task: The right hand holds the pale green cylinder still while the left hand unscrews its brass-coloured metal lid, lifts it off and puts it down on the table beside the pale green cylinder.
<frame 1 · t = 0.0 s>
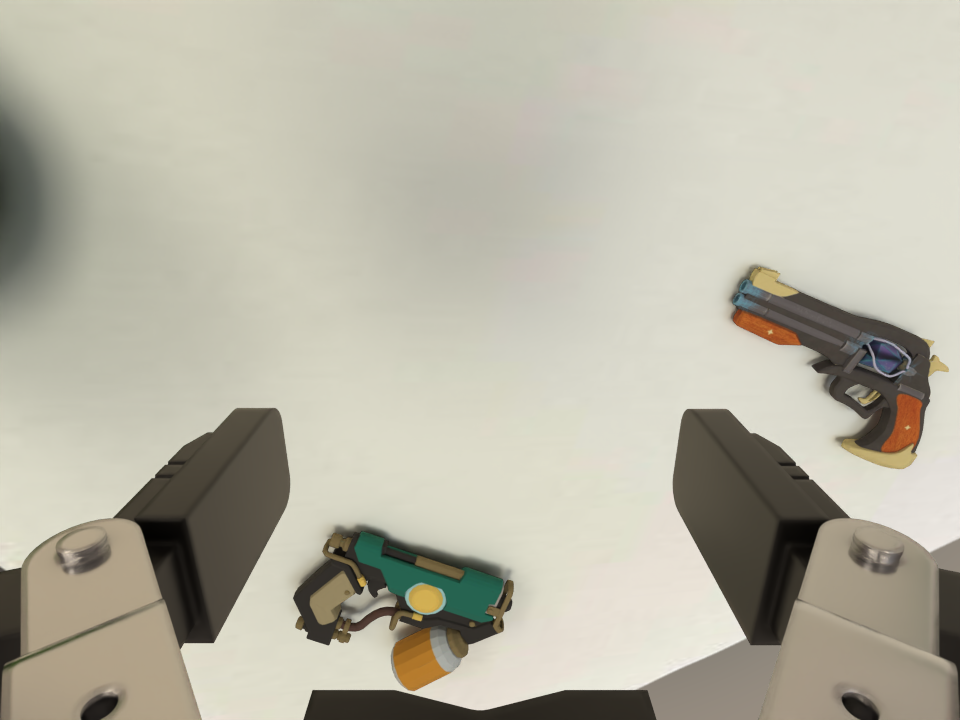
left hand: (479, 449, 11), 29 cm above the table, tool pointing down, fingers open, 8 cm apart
spray gun: (403, 588, 50), on the table
toy gun: (823, 368, 42), on the table
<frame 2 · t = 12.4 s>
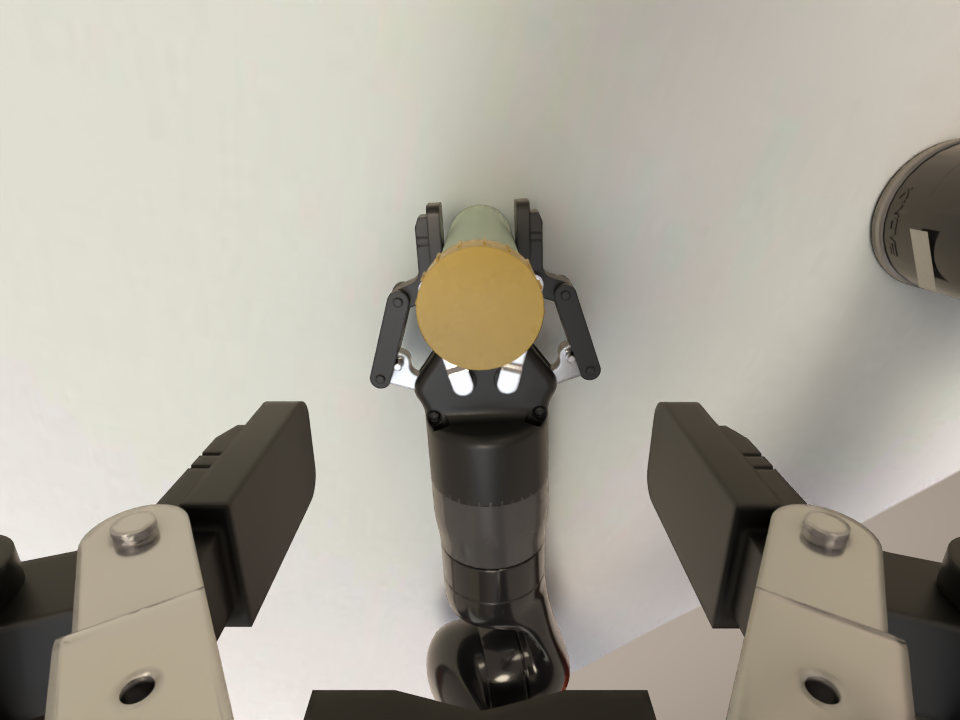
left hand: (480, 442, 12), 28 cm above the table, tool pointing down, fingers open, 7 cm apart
right hand: (477, 203, 30), fingers closed on pale green cylinder, 4 cm apart
lid: (480, 308, 21), point 18 cm above the table, screwed on, not yet turned
pale green cylinder: (480, 236, 37), on the table, touching right hand
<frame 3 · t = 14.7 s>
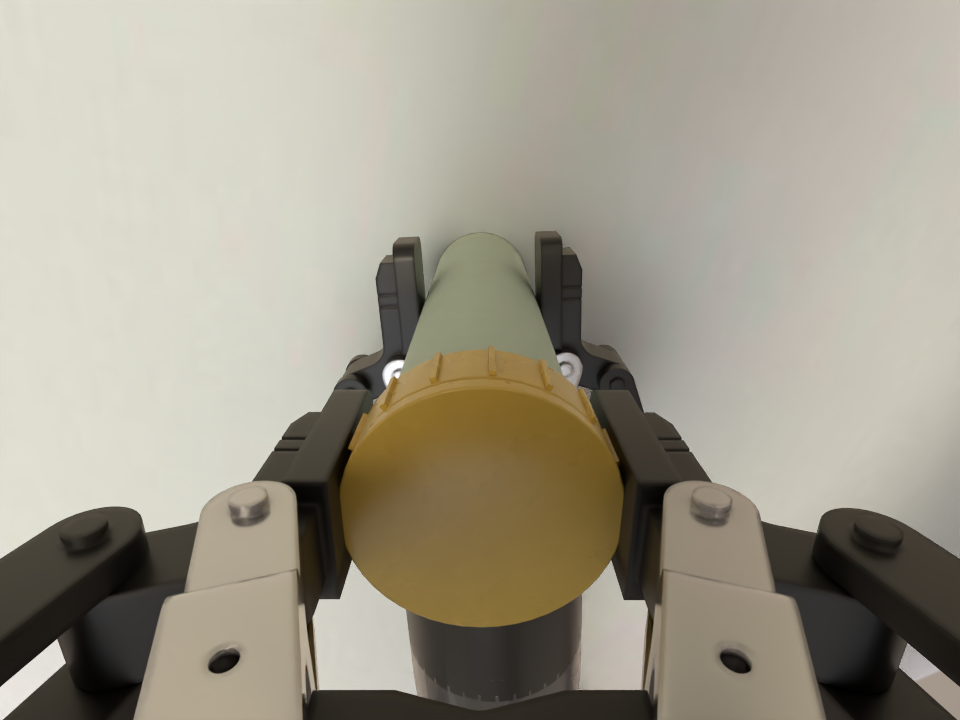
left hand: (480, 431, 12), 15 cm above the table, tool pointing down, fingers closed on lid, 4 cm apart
lid: (481, 505, 10), point 18 cm above the table, screwed on, not yet turned, touching left hand
pale green cylinder: (480, 276, 26), on the table, touching right hand
when the left hand's fingers open (15 cm above the table, at t = 16.1 s): lid stays where it is, point 18 cm above the table.
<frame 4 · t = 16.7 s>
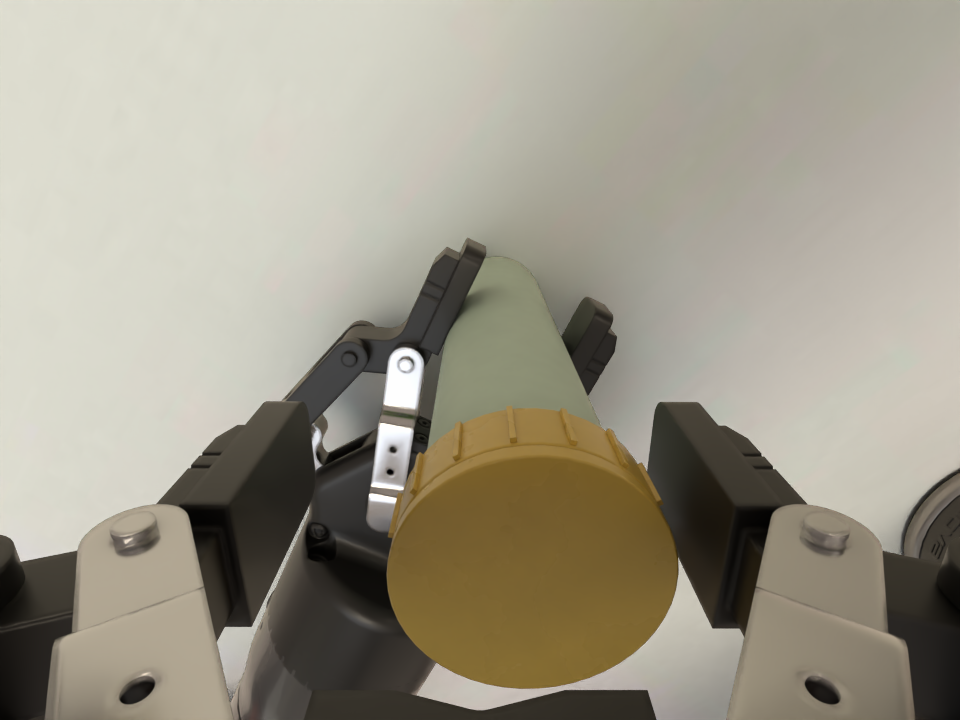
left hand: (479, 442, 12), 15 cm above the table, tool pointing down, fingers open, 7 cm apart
lid: (530, 568, 9), point 18 cm above the table, turned 63° so far, risen 0.2 cm, still on its thread
pale green cylinder: (495, 300, 26), on the table, touching right hand
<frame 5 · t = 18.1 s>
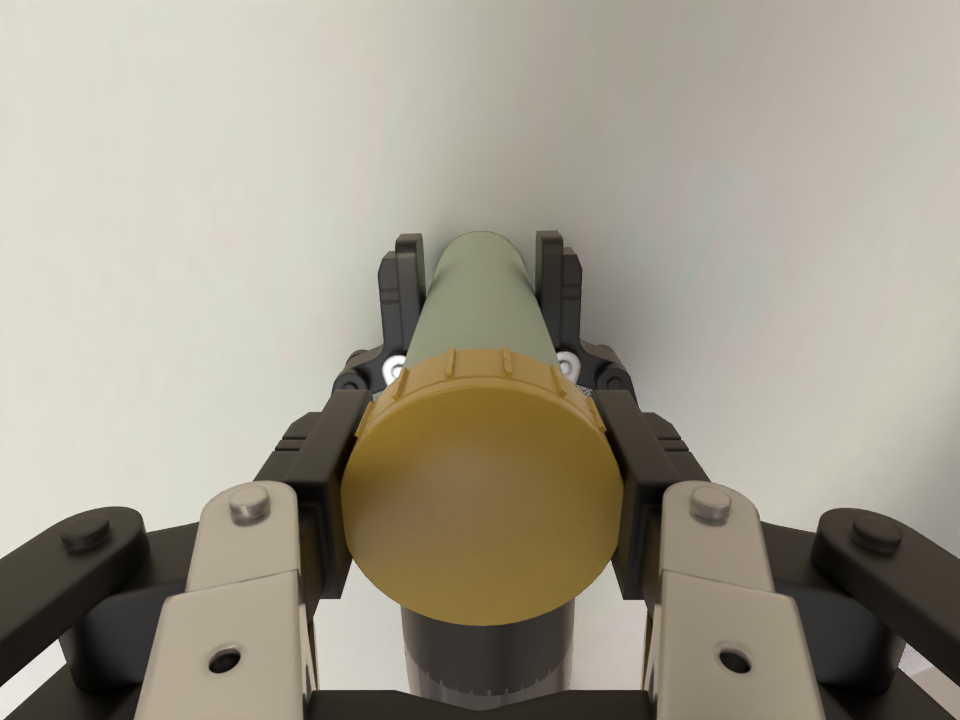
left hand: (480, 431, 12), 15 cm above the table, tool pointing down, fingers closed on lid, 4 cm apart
lid: (482, 504, 10), point 18 cm above the table, turned 63° so far, risen 0.2 cm, still on its thread, touching left hand
pale green cylinder: (480, 275, 26), on the table, touching right hand
when the left hand's fingers open (0 cm above the table, at t = 25.0 s): lid drops 2 cm, point 1 cm above the table.
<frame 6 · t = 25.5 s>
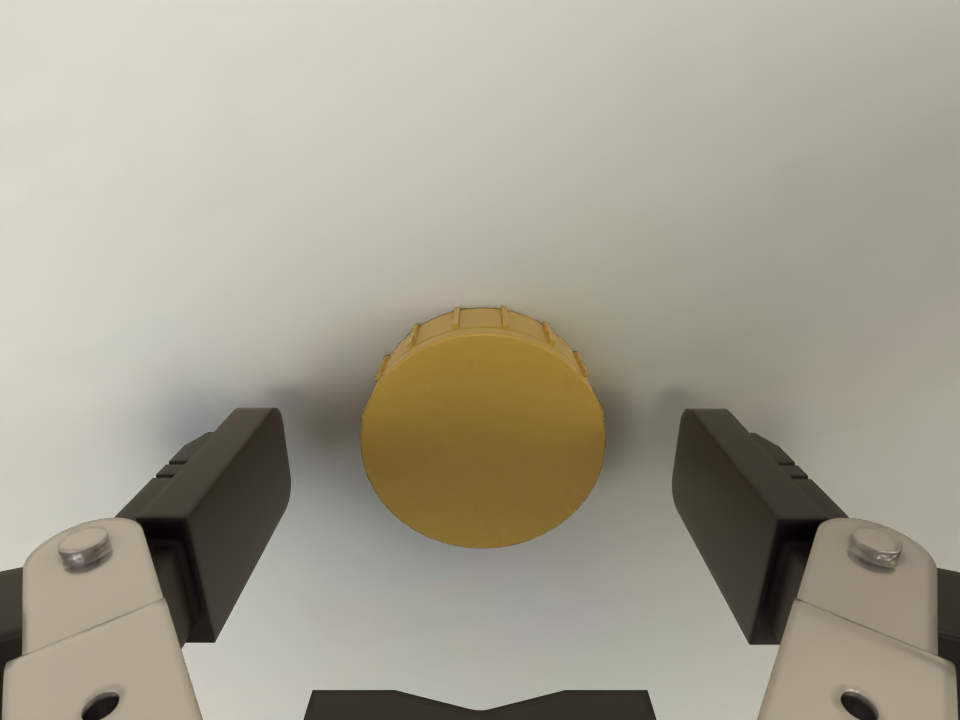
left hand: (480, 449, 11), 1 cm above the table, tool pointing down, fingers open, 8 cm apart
lid: (482, 440, 11), point 1 cm above the table, off its thread
when the right hand's fingers open (7 cm above the table, at t = 26.1 s): pale green cylinder stays where it is, on the table.
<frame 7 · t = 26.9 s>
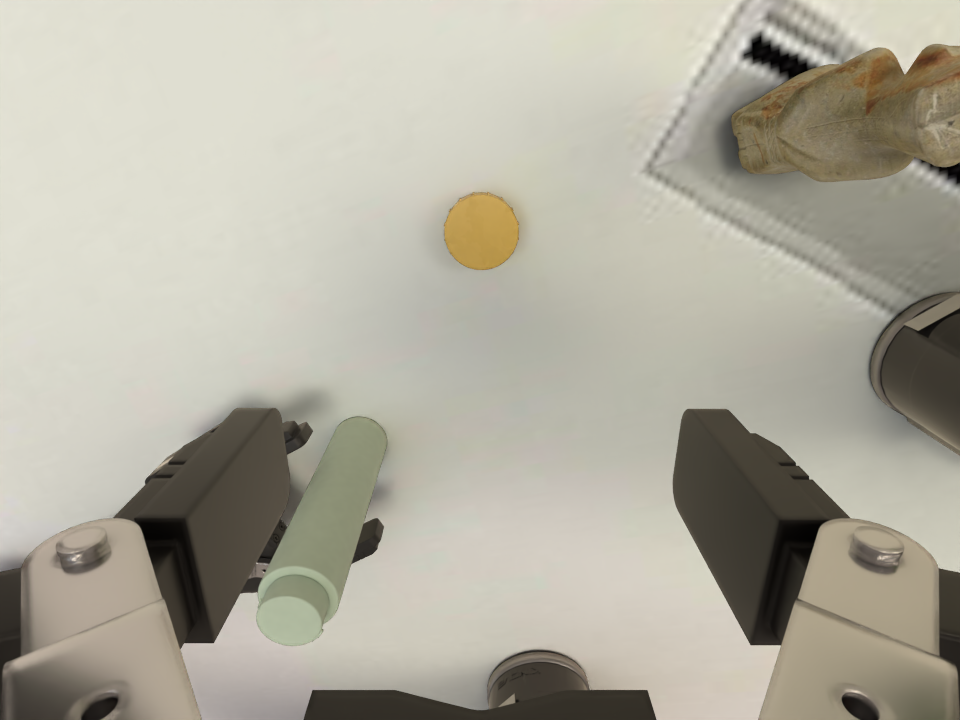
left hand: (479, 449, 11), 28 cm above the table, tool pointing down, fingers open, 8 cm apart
lid: (481, 232, 36), point 1 cm above the table, off its thread
sculpture: (775, 123, 35), on the table
pale green cylinder: (360, 440, 43), on the table
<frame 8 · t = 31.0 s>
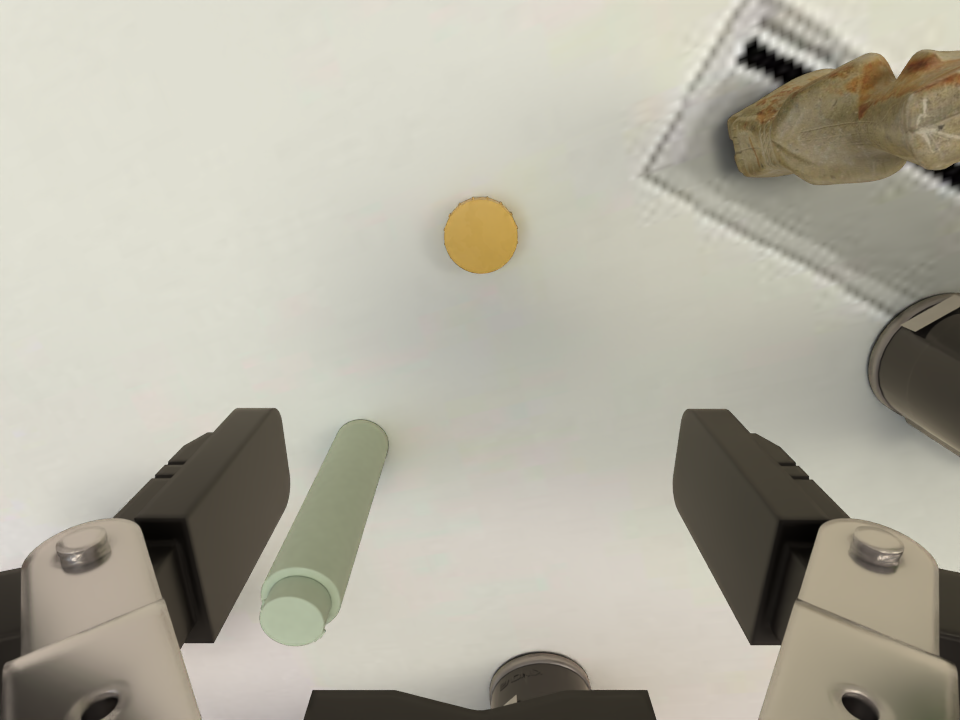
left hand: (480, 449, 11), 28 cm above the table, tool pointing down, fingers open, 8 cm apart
lid: (480, 236, 36), point 1 cm above the table, off its thread
sculpture: (771, 127, 35), on the table
pale green cylinder: (362, 442, 43), on the table
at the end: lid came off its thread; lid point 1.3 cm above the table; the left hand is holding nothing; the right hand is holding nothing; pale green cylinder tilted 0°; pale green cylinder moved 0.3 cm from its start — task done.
